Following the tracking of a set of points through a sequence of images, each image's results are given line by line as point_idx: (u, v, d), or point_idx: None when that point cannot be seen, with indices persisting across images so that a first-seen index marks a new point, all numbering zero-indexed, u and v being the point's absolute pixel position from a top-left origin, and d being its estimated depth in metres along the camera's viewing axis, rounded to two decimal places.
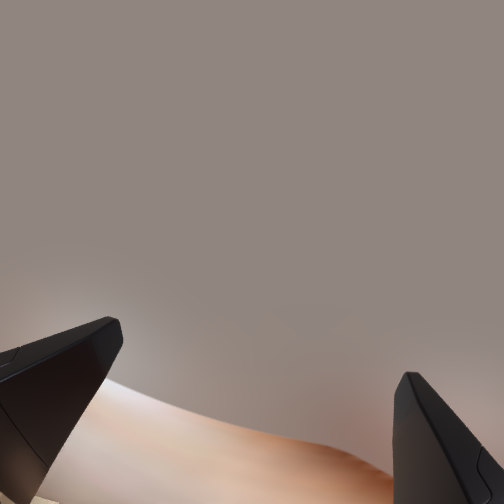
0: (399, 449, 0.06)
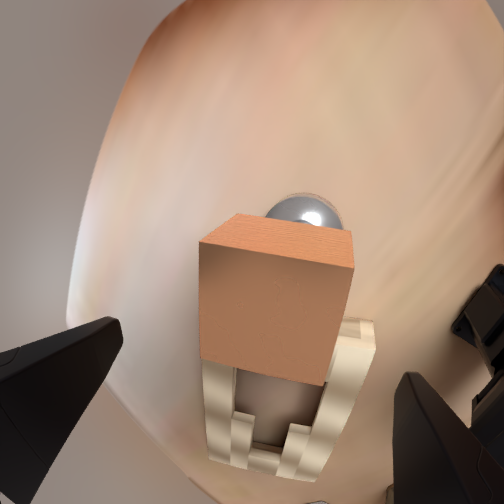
0: (399, 449, 0.06)
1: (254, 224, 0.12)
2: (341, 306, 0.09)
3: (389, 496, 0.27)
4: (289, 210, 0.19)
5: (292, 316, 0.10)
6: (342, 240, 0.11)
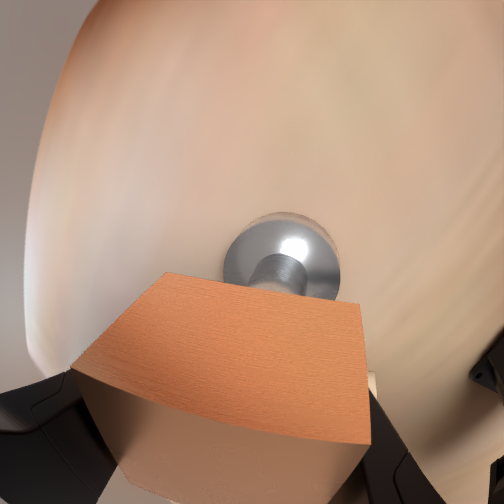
0: None
1: (184, 305, 0.07)
2: (337, 481, 0.04)
3: None
4: (261, 240, 0.13)
5: (250, 484, 0.05)
6: (346, 339, 0.06)
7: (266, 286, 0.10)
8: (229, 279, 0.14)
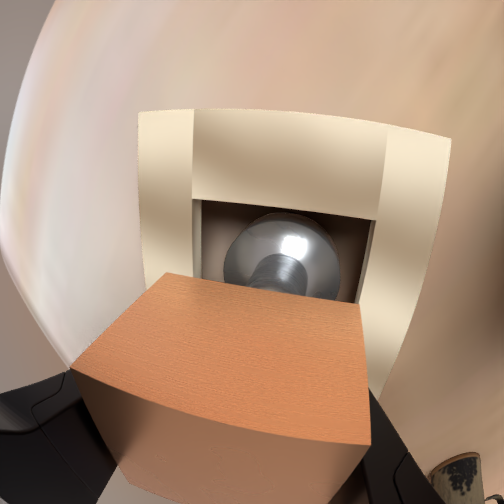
0: None
1: (184, 305, 0.07)
2: (337, 482, 0.04)
3: (438, 482, 0.18)
4: (261, 240, 0.13)
5: (249, 484, 0.05)
6: (347, 339, 0.06)
7: (266, 287, 0.10)
8: (229, 279, 0.14)
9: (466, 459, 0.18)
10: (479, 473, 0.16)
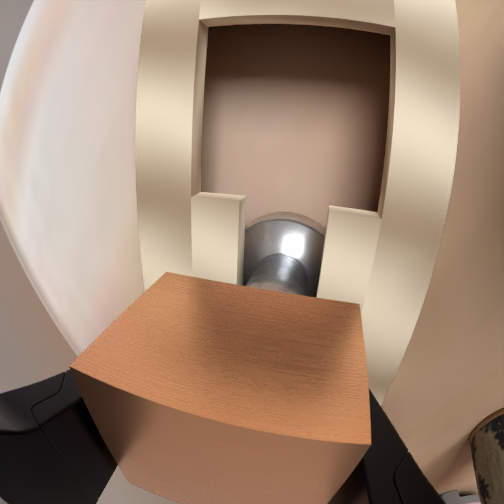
0: None
1: (184, 305, 0.07)
2: (337, 482, 0.04)
3: (481, 443, 0.15)
4: (262, 240, 0.13)
5: (250, 484, 0.05)
6: (347, 339, 0.06)
7: (266, 286, 0.10)
8: None
9: None
10: None
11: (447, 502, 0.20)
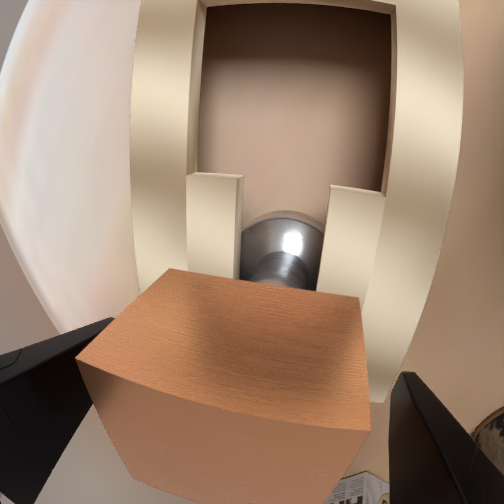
0: (395, 449, 0.06)
1: (187, 299, 0.07)
2: (338, 471, 0.04)
3: (485, 441, 0.14)
4: (263, 238, 0.13)
5: (252, 475, 0.05)
6: (346, 330, 0.06)
7: (267, 283, 0.11)
8: None
9: None
10: None
11: None
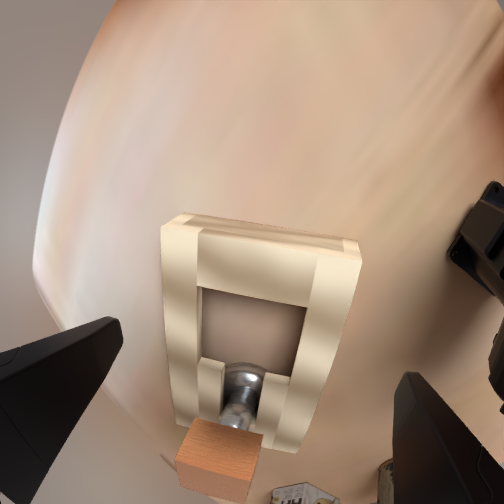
0: (399, 449, 0.06)
1: (204, 434, 0.18)
2: (246, 487, 0.16)
3: (382, 476, 0.26)
4: (235, 380, 0.25)
5: (224, 486, 0.16)
6: (253, 449, 0.17)
7: (234, 411, 0.22)
8: None
9: None
10: None
11: None
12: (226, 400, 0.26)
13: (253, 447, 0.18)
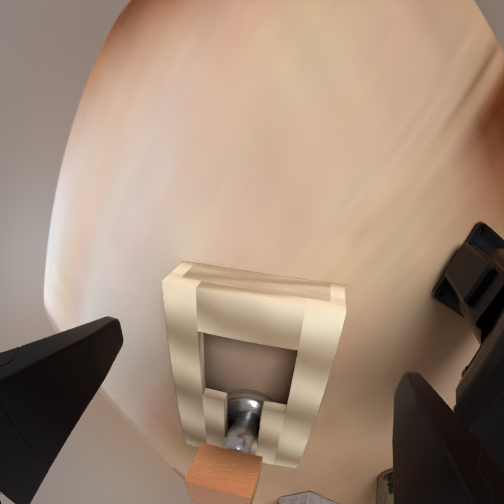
0: (399, 449, 0.06)
1: (210, 458, 0.20)
2: (248, 503, 0.17)
3: (380, 485, 0.27)
4: (238, 405, 0.26)
5: (228, 501, 0.18)
6: (254, 470, 0.19)
7: (237, 434, 0.23)
8: None
9: None
10: None
11: None
12: (231, 422, 0.27)
13: (253, 468, 0.19)
